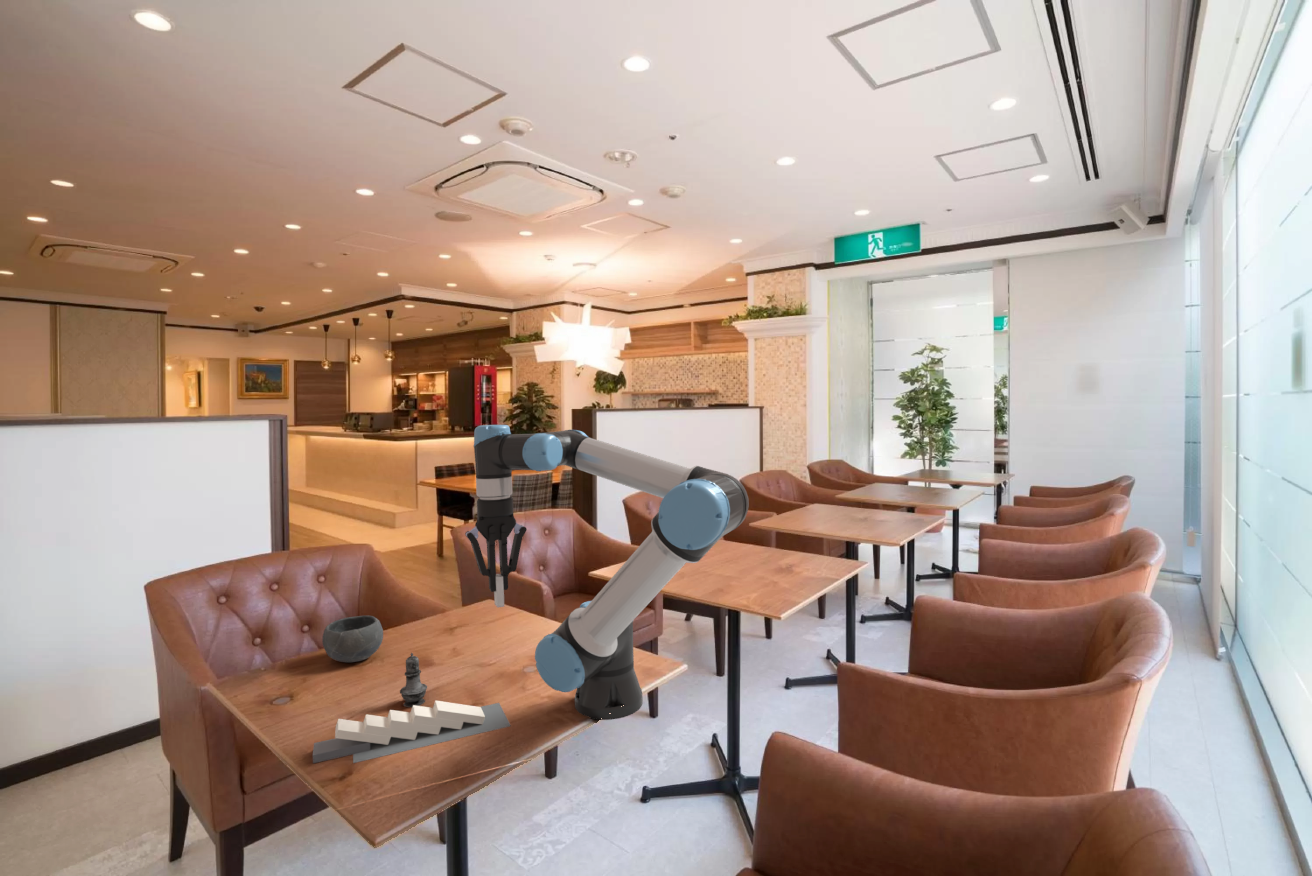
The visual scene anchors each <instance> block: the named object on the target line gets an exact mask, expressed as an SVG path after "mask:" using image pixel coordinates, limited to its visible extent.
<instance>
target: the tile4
mask: <svg viewBox="0 0 1312 876" xmlns="http://www.w3.org/2000/svg"><path fill="white" fill-rule="evenodd" d="M387 717H388V716H383V715H382V716H380V715H374V714H365V717H364V720H363V721H362V722H363V726H364V733H367V734H374V735H382V736H389V737H397V738H404V739H412V740H415V738H416V736H417V733H418V732H414V731H406V730H399V729H391V728H389V727H388V719H387Z"/></svg>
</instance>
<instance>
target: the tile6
mask: <svg viewBox="0 0 1312 876" xmlns="http://www.w3.org/2000/svg"><path fill="white" fill-rule="evenodd" d="M312 749H313V750H312V764H316V763H321V762H325V761H329V760H334V759H338V758H342V757H347V756H351V755H352V756H353V754H356V753H361V752H365V751H369V750H370V742H362V741H355V740H347V739H339V738H335V737H334V738H331V739H326V740H322V741H317V742H314V743H313V747H312Z"/></svg>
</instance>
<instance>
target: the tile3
mask: <svg viewBox="0 0 1312 876" xmlns="http://www.w3.org/2000/svg"><path fill="white" fill-rule="evenodd" d="M386 717H387V719H388V727H389V728H391V729H399V730H406V731H414V732H422V733H429V734H437V735H438V734H439V732H440V729H441V727H438V726H431V725H423V724H416V723H412V718H411V713H410V712H408V711H402V710H394V709H389V711H388V715H387V716H386Z"/></svg>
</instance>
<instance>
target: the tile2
mask: <svg viewBox="0 0 1312 876" xmlns="http://www.w3.org/2000/svg"><path fill="white" fill-rule="evenodd" d="M409 713H411V718H412V723H416V724H423V725H431V726H438V727H446V728H453V729H461V728H462V725H463V722H461V721H454V720H447V719H439V718H435V714H434V710H433V707H429V706H424V705H423V706H422V705H419V706H416V705H413V707H411V710H410V712H409Z"/></svg>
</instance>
